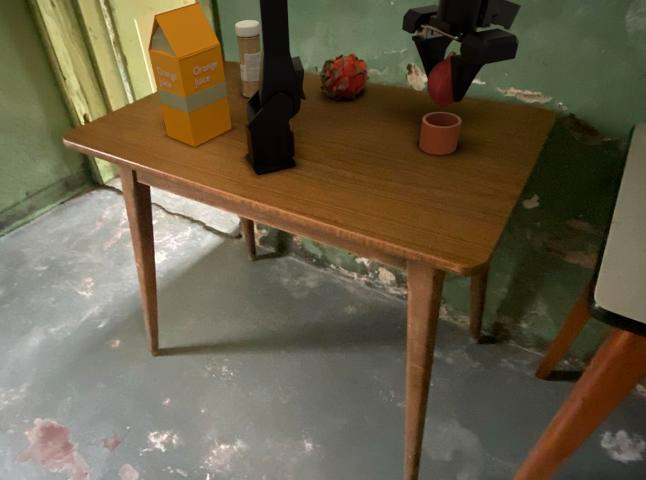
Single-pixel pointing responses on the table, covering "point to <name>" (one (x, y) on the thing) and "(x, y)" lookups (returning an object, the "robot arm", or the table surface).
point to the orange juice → (189, 75)
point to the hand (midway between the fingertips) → (445, 94)
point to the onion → (441, 82)
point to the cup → (439, 133)
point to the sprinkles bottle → (249, 54)
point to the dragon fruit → (343, 76)
